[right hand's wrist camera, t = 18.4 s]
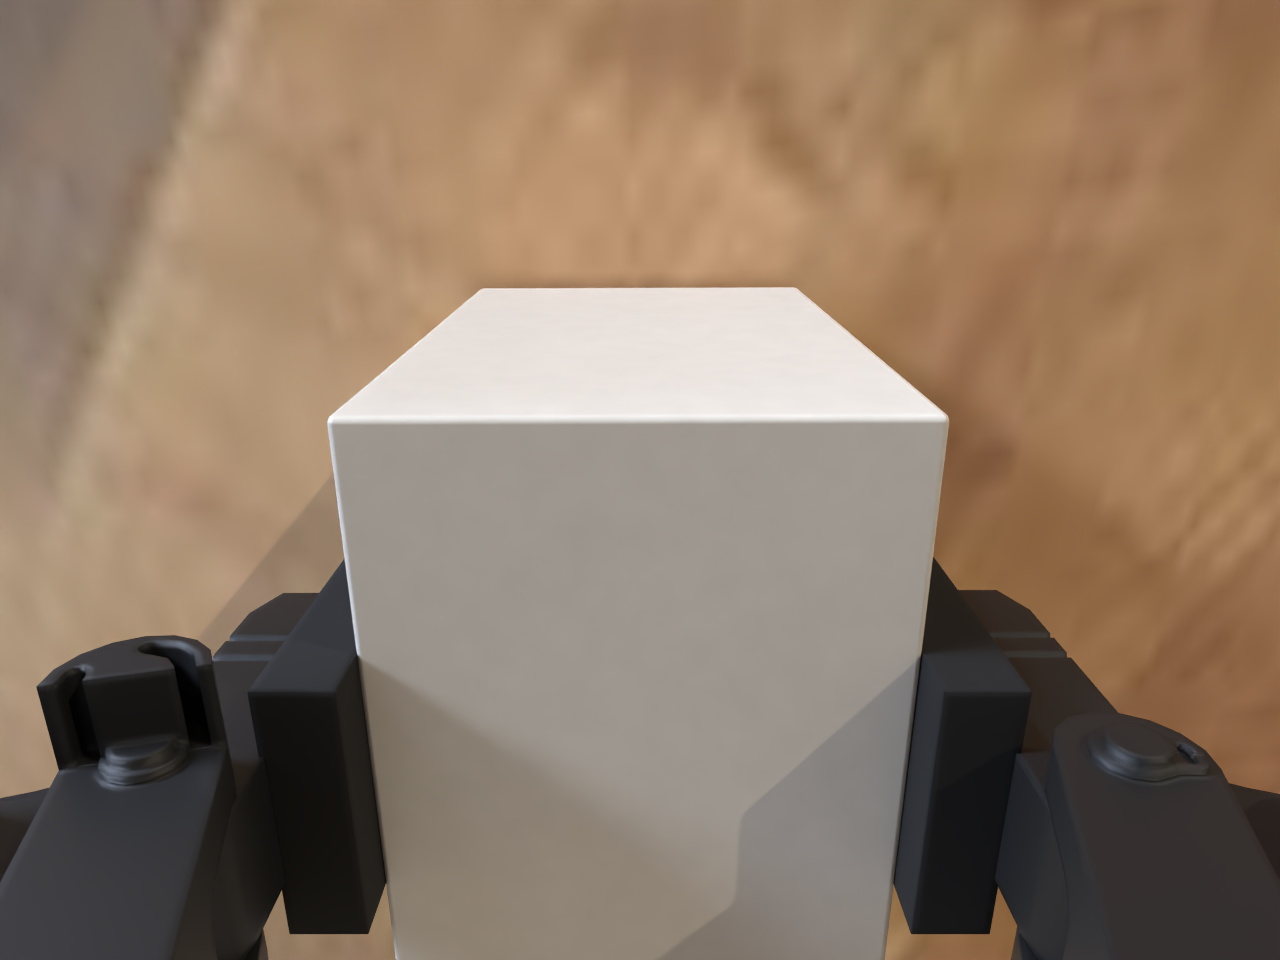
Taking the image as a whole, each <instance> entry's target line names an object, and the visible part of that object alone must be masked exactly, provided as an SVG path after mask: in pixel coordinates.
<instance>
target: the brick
mask: <svg viewBox="0 0 1280 960" xmlns="http://www.w3.org/2000/svg"><path fill="white" fill-rule="evenodd" d="M327 425H328V432H329V440H330V448H331V456H332V464H333V471H334V479H335V487H336V495H337V503H338V510H339V518H340V526H341V534H342V542H343V549H344V557H345V565H346V573H347V581H348V588H349V596H350V604H351V612H352V620H353V627H354V635H355V643H356V651H357V657H358V665H359V673H360V681H361V688H362V696H363V704H364V712H365V720H366V727H367V735H368V743H369V751H370V759H371V767H372V774H373V782H374V790H375V798H376V806H377V814H378V821H379V829H380V837H381V845H382V853H383V861H384V868H385V876H386V885H387V892H388V900H389V908H390V916H391V924H392V931H393V939H394V947H395V955H396V960H884V959H885V951H886V943H887V934H888V926H889V918H890V910H891V901H892V893H893V885H894V875H895V867H896V858H897V850H898V842H899V834H900V825H901V817H902V809H903V800H904V792H905V784H906V776H907V767H908V759H909V751H910V743H911V734H912V726H913V718H914V710H915V701H916V693H917V685H918V676H919V668H920V660H921V652H922V644H923V636H924V627H925V619H926V611H927V603H928V594H929V586H930V578H931V569H932V561H933V553H934V545H935V536H936V528H937V520H938V511H939V503H940V495H941V486H942V478H943V470H944V462H945V453H946V445H947V437H948V428H949V418H948V415H947V414H945V413H944V412H943V411H942V410H941V409H940V408H938V407H937V406H936V405H935V404H934V403H932V402H931V401H930V400H929V399H928V398H926V397H925V396H924V395H923V394H922V393H921V392H919V391H918V390H917V389H916V388H915V387H913V386H912V385H911V384H910V383H909V382H907V381H906V380H905V379H904V378H903V377H902V376H900V375H899V374H898V373H897V372H896V371H894V370H893V369H892V368H891V367H890V366H888V365H887V364H886V363H885V362H884V361H883V360H881V359H880V358H879V357H878V356H877V355H875V354H874V353H873V352H872V351H871V350H869V349H868V348H867V347H866V346H865V345H864V344H862V343H861V342H860V341H859V340H858V339H856V338H855V337H854V336H853V335H852V334H850V333H849V332H848V331H847V330H846V329H845V328H843V327H842V326H841V325H840V324H839V323H837V322H836V321H835V320H834V319H833V318H832V317H830V316H829V315H828V314H827V313H826V312H824V311H823V310H822V309H821V308H820V307H818V306H817V305H816V304H815V303H814V302H813V301H811V300H810V299H809V298H808V297H807V296H805V295H804V294H803V293H802V292H801V291H799V290H798V289H797V288H484V289H481V290H479V291H478V292H477V293H476V294H475V295H474V296H472V297H471V298H470V299H469V300H468V301H466V302H465V303H464V304H463V305H462V306H460V307H459V308H458V309H457V310H456V311H455V312H453V313H452V314H451V315H450V316H449V317H447V318H446V319H445V320H444V321H443V322H441V323H440V324H439V325H438V326H437V327H436V328H434V329H433V330H432V331H431V332H430V333H428V334H427V335H426V336H425V337H424V338H422V339H421V340H420V341H419V342H418V343H417V344H415V345H414V346H413V347H412V348H411V349H409V350H408V351H407V352H406V353H405V354H403V355H402V356H401V357H400V358H399V359H398V360H396V361H395V362H394V363H393V364H392V365H390V366H389V367H388V368H387V369H386V370H384V371H383V372H382V373H381V374H380V375H379V376H377V377H376V378H375V379H374V380H373V381H371V382H370V383H369V384H368V385H367V386H365V387H364V388H363V389H362V390H361V391H360V392H358V393H357V394H356V395H355V396H354V397H352V398H351V399H350V400H349V401H348V402H346V403H345V404H344V405H343V406H342V407H341V408H339V409H338V410H337V411H336V412H335V413H333V414H332V415H331V416H330V417H329V419H328V422H327Z"/></svg>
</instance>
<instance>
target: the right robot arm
mask: <svg viewBox="0 0 1280 960" xmlns="http://www.w3.org/2000/svg"><path fill="white" fill-rule="evenodd" d="M37 691H38V694H39V698H40V702H41V706H42V709H43V713H44V717H45V720H46V724H47V728H48V731H49V735H50V739H51V743H52V746H53V750H54V754H55V757H56V761H57V765H58V768H59V771H58V773H57V775H56V777H55V779H54V781H53V783H52V785H51V787H50V788H47V789H43V790H39V791H35V792H30V793H25V794H20V795H15V796H10V797H5V798H0V960H268V953H267V947H266V941H265V936H264V931H263V927H264V925H265V923H266V921H267V919H268V917H269V915H270V913H271V911H272V909H273V907H274V905H275V903H276V900H277V898H278V896H279V894H280V892H281V890H282V893H283V898H284V904H285V910H286V915H287V921H288V927H289V932H290V934H368V933H369V930H370V927H371V924H372V922H373V919H374V916H375V913H376V910H377V907H378V904H379V901H380V899H381V896H382V893H383V890H384V887H385V884H386V876H385V868H384V861H383V853H382V845H381V837H380V829H379V821H378V814H377V806H376V798H375V790H374V782H373V774H372V767H371V759H370V751H369V743H368V735H367V727H366V720H365V712H364V704H363V696H362V688H361V681H360V673H359V665H358V657H357V651H356V643H355V635H354V627H353V620H352V612H351V604H350V596H349V588H348V581H347V573H346V565H345V559H344V560H343V562H342V563H341V564H340V566H339V567H338V568H337V570H336V571H335V572H334V574H333V575H332V577H331V578H330V579H329V581H328V582H327V583H326V585H325V586H324V588H323V589H322V590H321V592H320V593H283V594H281V595H279V596H278V597H276V598H274V599H273V600H271V601H269V602H268V603H266V604H264V605H263V606H261V607H259V608H258V609H256V610H254V611H253V612H251V613H250V614H249V615H248V616H247V617H246V618H245V619H244V621H243V622H242V623H241V624H240V625H239V626H238V628H237V629H236V630H235V631H234V632H233V634H232V635H231V636H230V641H226V642H225V643H224V644H223V645H222V646H221V648H220V649H219V650H218V651H217V652H216V653H215V655H214V656H213V661H212V656H211V650H210V649H209V648H207V647H206V646H205V645H203V644H202V643H201V642H199V641H198V640H195V639H190V638H185V637H180V636H175V635H171V636H145V637H140V638H135V639H130V640H125V641H120V642H115V643H111V644H108V645H105V646H103V647H100V648H97V649H94V650H91V651H89V652H86V653H83V654H80V655H79V656H77V657H75V658H73V659H72V660H70V661H68V662H66V663H65V664H63V665H61V666H59V667H58V668H56V669H54V670H53V671H52V672H51V673H50V674H49V675H48V676H47V677H46V678H45V679H44V680H43V681H42V682H41V683H40V684H39V685H38V686H37ZM894 886H895V889H896V892H897V895H898V898H899V900H900V903H901V906H902V909H903V912H904V915H905V918H906V921H907V923H908V926H909V929H910V932H911V934H990V929H991V923H992V917H993V912H994V906H995V900H996V894H997V889H998V887H999V889H1000V891H1001V893H1002V895H1003V897H1004V899H1005V901H1006V903H1007V905H1008V907H1009V909H1010V911H1011V914H1012V916H1013V918H1014V920H1015V922H1016V924H1017V931H1016V936H1015V941H1014V947H1013V952H1012V957H1011V960H1280V794H1276V793H1271V792H1266V791H1261V790H1256V789H1251V788H1246V787H1242V786H1238V785H1234V784H1230V783H1228V781H1227V779H1226V777H1225V775H1224V774H1223V772H1222V770H1221V768H1220V767H1219V766H1218V765H1217V764H1216V762H1215V761H1214V760H1213V759H1212V758H1211V756H1210V755H1209V754H1208V753H1207V752H1206V751H1205V750H1204V749H1203V748H1201V747H1200V746H1198V745H1197V744H1195V743H1194V742H1192V741H1191V740H1189V739H1188V738H1186V737H1185V736H1183V735H1182V734H1180V733H1178V732H1176V731H1174V730H1171V729H1169V728H1166V727H1164V726H1162V725H1159V724H1157V723H1155V722H1152V721H1150V720H1146V719H1142V718H1137V717H1133V716H1129V715H1124V714H1120V713H1118V712H1117V711H1116V710H1115V709H1114V707H1113V706H1112V705H1111V704H1110V703H1109V702H1108V700H1107V699H1106V698H1105V697H1104V696H1103V695H1102V693H1101V692H1100V691H1099V690H1098V689H1097V688H1096V686H1095V685H1094V684H1093V683H1092V682H1091V681H1090V679H1089V678H1088V677H1087V676H1086V675H1085V674H1084V672H1083V671H1082V670H1081V669H1080V668H1079V667H1078V665H1077V664H1076V663H1075V662H1074V661H1073V660H1072V658H1067V653H1066V651H1065V650H1064V649H1063V648H1062V647H1061V646H1060V644H1059V643H1058V642H1057V641H1056V640H1055V639H1054V638H1050V633H1049V632H1048V630H1047V629H1046V628H1045V627H1044V626H1043V625H1042V623H1041V622H1040V621H1039V620H1038V619H1037V618H1036V616H1035V615H1034V614H1033V613H1032V612H1031V611H1030V610H1029V609H1027V608H1026V607H1024V606H1022V605H1021V604H1019V603H1017V602H1016V601H1014V600H1012V599H1010V598H1009V597H1007V596H1005V595H1004V594H1002V593H1000V592H999V591H997V590H957V589H956V587H955V586H954V584H953V583H952V582H951V580H950V579H949V578H948V576H947V575H946V573H945V572H944V571H943V569H942V568H941V567H940V565H939V564H938V563H937V561H936V560H935V558H934V557H933V561H932V569H931V578H930V586H929V594H928V603H927V611H926V619H925V627H924V636H923V644H922V652H921V660H920V668H919V676H918V685H917V693H916V701H915V710H914V718H913V726H912V734H911V743H910V751H909V759H908V767H907V776H906V784H905V792H904V800H903V809H902V817H901V825H900V834H899V842H898V850H897V858H896V867H895V875H894Z"/></svg>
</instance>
